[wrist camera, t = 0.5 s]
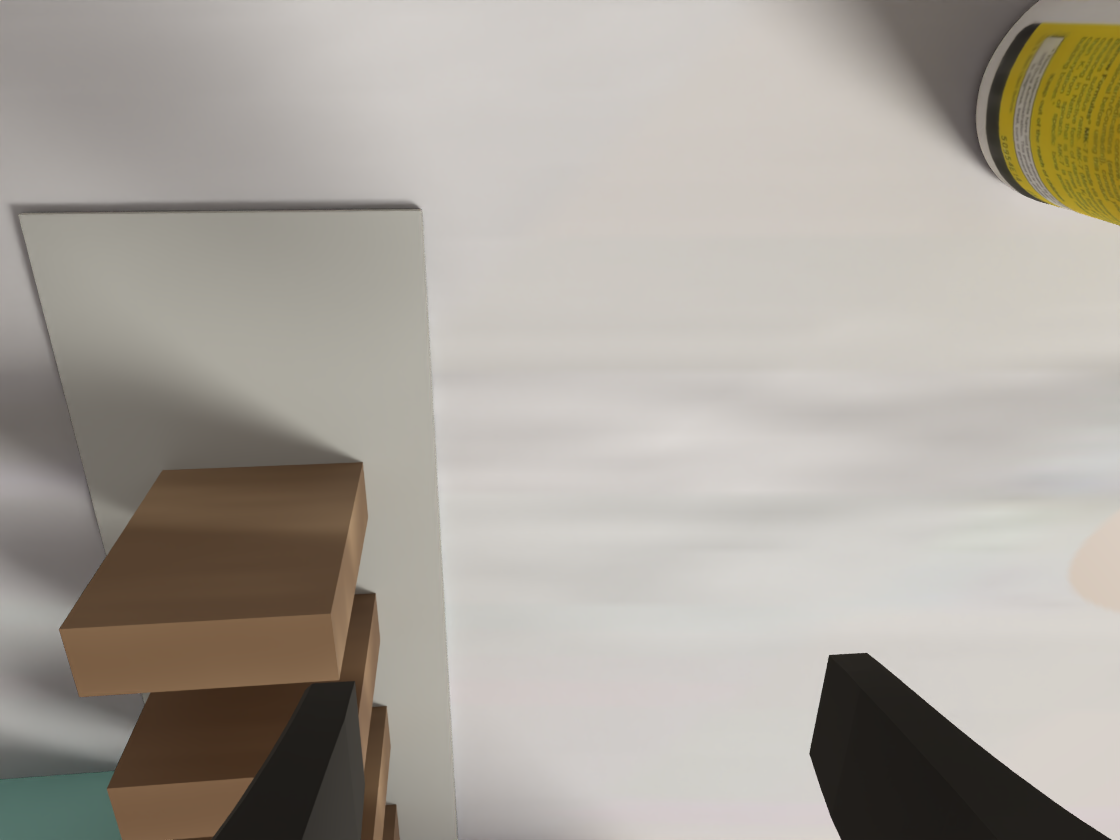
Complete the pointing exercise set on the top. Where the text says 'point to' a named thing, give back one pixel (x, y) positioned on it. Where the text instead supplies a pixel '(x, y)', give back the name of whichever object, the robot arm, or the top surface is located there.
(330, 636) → the tile
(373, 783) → the tile
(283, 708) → the tile
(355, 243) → the runner mat
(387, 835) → the tile
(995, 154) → the supplement bottle
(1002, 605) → the top surface
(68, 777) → the tile
